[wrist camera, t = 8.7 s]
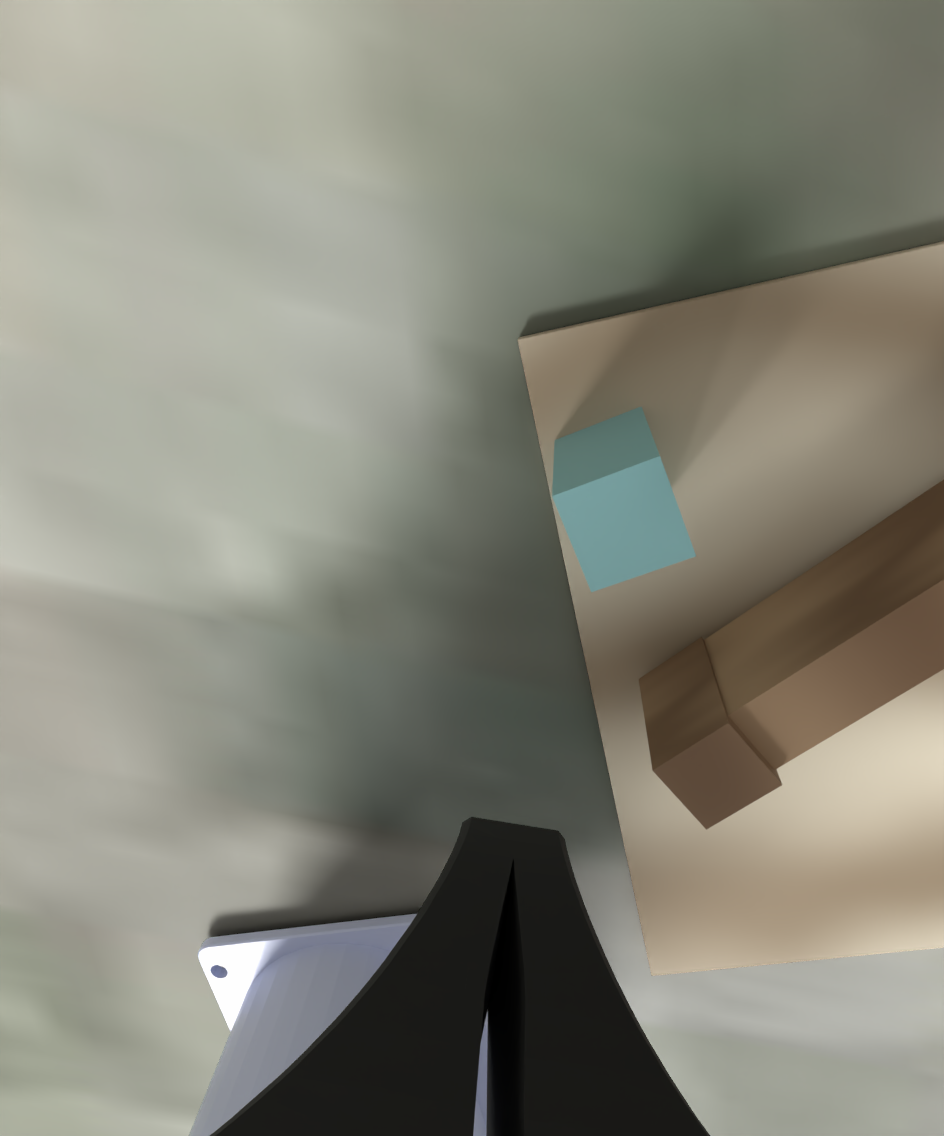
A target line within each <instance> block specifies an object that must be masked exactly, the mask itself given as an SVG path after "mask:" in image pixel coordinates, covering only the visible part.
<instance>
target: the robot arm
mask: <svg viewBox="0 0 944 1136" xmlns="http://www.w3.org/2000/svg"><path fill="white" fill-rule="evenodd" d="M198 958H199V961H200V963H201V966H202V968H203V970H204V973H205V975H206V977H207V979H208V982H209V984H210V986H211V988H212V991H213V993H214V995H215V997H216V1000H217V1002H218V1004H219V1006H220V1009H221V1011H222V1013H223V1016H224V1018H225V1020H226V1022H227V1025H228V1027H229V1029H230V1031H231V1032H230V1035H229V1037H228V1040H227V1042H226V1045H225V1047H224V1050H223V1052H222V1055H221V1057H220V1059H219V1062H218V1064H217V1067H216V1069H215V1072H214V1074H213V1077H212V1079H211V1082H210V1084H209V1087H208V1089H207V1092H206V1094H205V1097H204V1099H203V1102H202V1104H201V1107H200V1109H199V1111H198V1114H197V1116H196V1119H195V1121H194V1124H193V1126H192V1129H191V1131H190V1134H189V1136H710V1135H709V1133H708V1132H707V1131H706V1129H705V1128H704V1127H703V1125H702V1124H701V1123H700V1121H699V1120H698V1118H697V1117H696V1116H695V1114H694V1113H693V1111H692V1110H691V1108H690V1107H689V1105H688V1103H687V1102H686V1100H685V1099H684V1097H683V1096H682V1094H681V1093H680V1091H679V1090H678V1088H677V1087H676V1085H675V1083H674V1082H673V1080H672V1079H671V1077H670V1076H669V1074H668V1072H667V1071H666V1069H665V1067H664V1066H663V1064H662V1062H661V1061H660V1059H659V1057H658V1056H657V1054H656V1052H655V1051H654V1049H653V1047H652V1046H651V1044H650V1042H649V1041H648V1039H647V1037H646V1035H645V1033H644V1032H643V1030H642V1028H641V1026H640V1024H639V1023H638V1021H637V1019H636V1017H635V1015H634V1013H633V1011H632V1009H631V1007H630V1006H629V1004H628V1002H627V1000H626V998H625V996H624V994H623V992H622V990H621V988H620V986H619V984H618V982H617V980H616V978H615V975H614V973H613V971H612V969H611V967H610V965H609V963H608V960H607V958H606V956H605V954H604V951H603V949H602V947H601V944H600V942H599V940H598V937H597V935H596V933H595V930H594V928H593V925H592V923H591V921H590V918H589V916H588V913H587V910H586V908H585V905H584V903H583V900H582V897H581V894H580V891H579V888H578V886H577V883H576V880H575V877H574V873H573V870H572V867H571V863H570V860H569V856H568V852H567V848H566V844H565V839H564V838H563V836H562V835H561V834H560V833H559V831H556V830H550V829H543V828H537V827H531V826H525V825H518V824H512V823H506V822H499V821H493V820H487V819H481V818H474V817H471V818H469V819H468V820H466V821H464V822H463V823H462V827H461V830H460V834H459V836H458V839H457V842H456V844H455V847H454V849H453V851H452V853H451V855H450V857H449V859H448V862H447V863H446V865H445V867H444V869H443V871H442V873H441V875H440V877H439V879H438V880H437V882H436V884H435V885H434V887H433V889H432V890H431V892H430V894H429V895H428V897H427V899H426V900H425V902H424V903H423V905H422V907H421V908H420V910H419V912H418V913H417V914H409V915H401V916H392V917H383V918H374V919H365V920H357V921H348V922H339V923H330V924H322V925H313V926H304V927H295V928H287V929H278V930H269V931H260V932H252V933H243V934H234V935H225V936H217V937H211V938H207V939H206V940H205V941H204V942H203V943H202V945H201V947H200V949H199V952H198ZM218 965H221V966H223V967H225V968H223V967H220V966H218ZM487 1009H488V1012H487Z"/></svg>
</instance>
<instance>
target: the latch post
mask: <svg viewBox="0 0 944 1136" xmlns="http://www.w3.org/2000/svg"><path fill="white" fill-rule="evenodd" d="M552 498H553V500H554V502H555V505H556V507H557V510H558V512H559V515H560V517H561V520H562V522H563V524H564V527H565V529H566V532H567V534H568V537H569V539H570V541H571V544H572V546H573V549H574V551H575V554H576V556H577V559H578V561H579V563H580V566H581V568H582V571H583V573H584V576H585V578H586V581H587V583H588V585H589V588H590V590H591V592H594V591H597V590H600V589H603V588H605V587H608V586H611V585H614V584H617V583H620V582H623V581H626V580H629V579H632V578H635V577H637V576H640V575H643V574H646V573H649V572H652V571H655V570H658V569H661V568H664V567H666V566H669V565H672V564H675V563H678V562H681V561H684V560H687V559H690V558H693V557H696V554H695V551H694V549H693V546H692V543H691V540H690V538H689V535H688V532H687V529H686V527H685V524H684V521H683V518H682V515H681V513H680V510H679V507H678V504H677V502H676V499H675V496H674V493H673V491H672V488H671V485H670V482H669V480H668V477H667V474H666V471H665V468H664V466H663V463H662V460H661V457H660V455H659V452H658V449H657V447H656V444H655V441H654V439H653V436H652V433H651V431H650V428H649V425H648V423H647V420H646V417H645V415H644V412H643V409H642V406H641V407H638V408H636V409H633V410H631V411H628V412H625V413H623V414H620V415H618V416H615V417H613V418H610V419H608V420H605V421H602V422H600V423H597V424H595V425H592V426H590V427H587V428H584V429H582V430H579V431H577V432H574V433H572V434H569V435H566V436H564V437H561V438H559V439H556V440H555V442H554V464H553V486H552Z"/></svg>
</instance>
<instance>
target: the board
mask: <svg viewBox="0 0 944 1136" xmlns="http://www.w3.org/2000/svg"><path fill="white" fill-rule="evenodd" d="M518 344H519V349H520V354H521V358H522V363H523V368H524V373H525V377H526V382H527V387H528V392H529V396H530V401H531V406H532V411H533V415H534V420H535V425H536V430H537V434H538V439H539V444H540V448H541V453H542V458H543V463H544V467H545V472H546V477H547V482H548V486H549V491H550V496H551V501H552V505H553V510H554V515H555V520H556V524H557V529H558V534H559V539H560V543H561V548H562V553H563V558H564V562H565V567H566V572H567V577H568V581H569V586H570V591H571V596H572V600H573V605H574V610H575V615H576V619H577V624H578V629H579V634H580V638H581V643H582V648H583V653H584V657H585V662H586V667H587V672H588V676H589V681H590V686H591V691H592V695H593V700H594V705H595V710H596V714H597V719H598V724H599V729H600V733H601V738H602V743H603V748H604V752H605V757H606V762H607V767H608V771H609V776H610V781H611V786H612V790H613V795H614V800H615V804H616V809H617V814H618V819H619V823H620V828H621V833H622V838H623V842H624V847H625V852H626V857H627V861H628V866H629V871H630V876H631V880H632V885H633V890H634V895H635V899H636V904H637V909H638V914H639V918H640V923H641V928H642V933H643V937H644V942H645V947H646V952H647V956H648V961H649V966H650V971H651V975H652V976H656V975H666V974H676V973H687V972H697V971H707V970H718V969H728V968H738V967H749V966H759V965H769V964H780V963H790V962H800V961H810V960H821V959H831V958H841V957H852V956H862V955H872V954H883V953H893V952H903V951H914V950H924V949H934V948H944V669H943V670H942V671H940V672H938V673H937V674H935V675H933V676H932V677H930V678H928V679H927V680H925V681H923V682H922V683H920V684H918V685H916V686H915V687H913V688H911V689H910V690H908V691H906V692H905V693H903V694H901V695H900V696H898V697H896V698H895V699H893V700H891V701H890V702H888V703H886V704H885V705H883V706H881V707H880V708H878V709H876V710H875V711H873V712H871V713H870V714H868V715H866V716H864V717H863V718H861V719H859V720H858V721H856V722H854V723H853V724H851V725H849V726H848V727H846V728H844V729H843V730H841V731H839V732H838V733H836V734H834V735H833V736H831V737H829V738H828V739H826V740H824V741H823V742H821V743H819V744H818V745H816V746H814V747H812V748H811V749H809V750H807V751H806V752H804V753H802V754H801V755H799V756H797V757H796V758H794V759H792V760H791V761H789V762H787V763H786V764H784V765H782V766H781V767H779V768H777V772H778V775H779V777H780V780H781V783H782V786H780V787H778V788H777V789H775V790H773V791H771V792H770V793H768V794H766V795H765V796H763V797H761V798H760V799H758V800H756V801H754V802H753V803H751V804H749V805H748V806H746V807H744V808H743V809H741V810H739V811H737V812H736V813H734V814H732V815H731V816H729V817H727V818H726V819H724V820H722V821H720V822H719V823H717V824H715V825H714V826H712V827H710V828H709V829H707V830H706V829H705V828H704V827H703V825H702V824H701V823H700V822H699V821H698V820H697V819H696V818H695V817H694V816H693V815H692V813H691V812H690V811H689V810H688V809H687V808H686V807H685V806H684V805H683V804H682V802H681V801H680V800H679V799H678V798H677V797H676V796H675V795H674V794H673V793H672V791H671V790H670V789H669V788H668V787H667V786H666V785H665V784H664V783H663V782H662V780H661V779H660V778H659V777H658V776H657V775H656V774H655V773H654V772H653V771H652V764H651V758H650V751H649V745H648V738H647V732H646V725H645V719H644V712H643V705H642V699H641V692H640V686H639V679H640V678H641V677H643V676H644V675H646V674H647V673H648V672H650V671H651V670H653V669H654V668H656V667H657V666H659V665H660V664H662V663H663V662H665V661H666V660H668V659H669V658H671V657H672V656H674V655H675V654H677V653H678V652H680V651H681V650H683V649H684V648H686V647H687V646H689V645H690V644H692V643H693V642H695V641H696V640H698V639H699V638H701V637H702V638H703V639H704V640H705V639H706V638H708V637H709V636H711V635H712V634H714V633H715V632H717V631H718V630H720V629H721V628H723V627H724V626H726V625H727V624H729V623H730V622H732V621H733V620H735V619H736V618H738V617H739V616H741V615H742V614H744V613H745V612H747V611H748V610H750V609H751V608H753V607H754V606H756V605H757V604H759V603H760V602H761V601H763V600H764V599H766V598H767V597H769V596H770V595H772V594H773V593H775V592H776V591H778V590H779V589H781V588H782V587H784V586H785V585H787V584H788V583H790V582H791V581H793V580H794V579H796V578H797V577H799V576H800V575H802V574H803V573H805V572H806V571H808V570H809V569H811V568H812V567H814V566H815V565H817V564H818V563H820V562H821V561H823V560H824V559H826V558H827V557H829V556H830V555H832V554H833V553H835V552H836V551H838V550H839V549H841V548H842V547H844V546H845V545H847V544H848V543H850V542H851V541H853V540H854V539H856V538H857V537H859V536H860V535H862V534H863V533H865V532H866V531H868V530H869V529H871V528H872V527H874V526H875V525H876V524H878V523H879V522H881V521H882V520H884V519H885V518H887V517H888V516H890V515H891V514H893V513H894V512H896V511H897V510H899V509H900V508H902V507H903V506H905V505H906V504H908V503H909V502H911V501H912V500H914V499H915V498H917V497H918V496H920V495H921V494H923V493H924V492H926V491H927V490H929V489H930V488H932V487H933V486H935V485H936V484H938V483H939V482H941V481H942V480H944V241H942V242H938V243H934V244H929V245H925V246H920V247H916V248H911V249H907V250H903V251H898V252H894V253H889V254H885V255H881V256H876V257H872V258H867V259H863V260H858V261H854V262H850V263H845V264H841V265H836V266H832V267H828V268H823V269H819V270H814V271H810V272H805V273H801V274H797V275H792V276H788V277H783V278H779V279H775V280H770V281H766V282H761V283H757V284H752V285H748V286H744V287H739V288H735V289H730V290H726V291H722V292H717V293H713V294H708V295H704V296H699V297H695V298H691V299H686V300H682V301H677V302H673V303H669V304H664V305H660V306H655V307H651V308H646V309H642V310H638V311H633V312H629V313H624V314H620V315H616V316H611V317H607V318H602V319H598V320H593V321H589V322H585V323H580V324H576V325H571V326H567V327H562V328H558V329H554V330H549V331H545V332H540V333H536V334H532V335H527V336H523V337H519V338H518ZM641 406H642V409H643V412H644V415H645V417H646V420H647V423H648V425H649V428H650V431H651V433H652V436H653V439H654V441H655V444H656V447H657V449H658V452H659V455H660V457H661V460H662V463H663V466H664V468H665V471H666V474H667V477H668V480H669V482H670V485H671V488H672V491H673V493H674V496H675V499H676V502H677V504H678V507H679V510H680V513H681V515H682V518H683V521H684V524H685V527H686V529H687V532H688V535H689V538H690V540H691V543H692V546H693V549H694V551H695V554H696V557H693V558H690V559H687V560H684V561H681V562H678V563H675V564H672V565H669V566H666V567H664V568H661V569H658V570H655V571H652V572H649V573H646V574H643V575H640V576H637V577H635V578H632V579H629V580H626V581H623V582H620V583H617V584H614V585H611V586H608V587H605V588H603V589H600V590H597V591H594V592H591V590H590V588H589V585H588V583H587V581H586V578H585V576H584V573H583V571H582V568H581V566H580V563H579V561H578V559H577V556H576V554H575V551H574V549H573V546H572V544H571V541H570V539H569V537H568V534H567V532H566V529H565V527H564V524H563V522H562V520H561V517H560V515H559V512H558V510H557V507H556V505H555V502H554V500H553V498H552V486H553V464H554V442H555V440H556V439H559V438H561V437H564V436H566V435H569V434H572V433H574V432H577V431H579V430H582V429H584V428H587V427H590V426H592V425H595V424H597V423H600V422H602V421H605V420H608V419H610V418H613V417H615V416H618V415H620V414H623V413H625V412H628V411H631V410H633V409H636V408H638V407H641Z"/></svg>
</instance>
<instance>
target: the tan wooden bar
mask: <svg viewBox="0 0 944 1136" xmlns="http://www.w3.org/2000/svg"><path fill="white" fill-rule="evenodd" d="M943 669H944V480H942V481H941V482H939V483H938V484H936V485H935V486H933V487H932V488H930V489H929V490H927V491H926V492H924V493H923V494H921V495H920V496H918V497H917V498H915V499H914V500H912V501H911V502H909V503H908V504H906V505H905V506H903V507H902V508H900V509H899V510H897V511H896V512H894V513H893V514H891V515H890V516H888V517H887V518H885V519H884V520H882V521H881V522H879V523H878V524H876V525H875V526H874V527H872V528H871V529H869V530H868V531H866V532H865V533H863V534H862V535H860V536H859V537H857V538H856V539H854V540H853V541H851V542H850V543H848V544H847V545H845V546H844V547H842V548H841V549H839V550H838V551H836V552H835V553H833V554H832V555H830V556H829V557H827V558H826V559H824V560H823V561H821V562H820V563H818V564H817V565H815V566H814V567H812V568H811V569H809V570H808V571H806V572H805V573H803V574H802V575H800V576H799V577H797V578H796V579H794V580H793V581H791V582H790V583H788V584H787V585H785V586H784V587H782V588H781V589H779V590H778V591H776V592H775V593H773V594H772V595H770V596H769V597H767V598H766V599H764V600H763V601H761V602H760V603H759V604H757V605H756V606H754V607H753V608H751V609H750V610H748V611H747V612H745V613H744V614H742V615H741V616H739V617H738V618H736V619H735V620H733V621H732V622H730V623H729V624H727V625H726V626H724V627H723V628H721V629H720V630H718V631H717V632H715V633H714V634H712V635H711V636H709V637H708V638H706V639H705V640H704V639H703V638H702V637H701V638H699V639H698V640H696V641H695V642H693V643H692V644H690V645H689V646H687V647H686V648H684V649H683V650H681V651H680V652H678V653H677V654H675V655H674V656H672V657H671V658H669V659H668V660H666V661H665V662H663V663H662V664H660V665H659V666H657V667H656V668H654V669H653V670H651V671H650V672H648V673H647V674H646V675H644V676H643V677H641V678H640V679H639V686H640V692H641V699H642V705H643V712H644V719H645V725H646V732H647V738H648V745H649V751H650V758H651V764H652V771H653V772H654V773H655V774H656V775H657V776H658V777H659V778H660V779H661V780H662V782H663V783H664V784H665V785H666V786H667V787H668V788H669V789H670V790H671V791H672V793H673V794H674V795H675V796H676V797H677V798H678V799H679V800H680V801H681V802H682V804H683V805H684V806H685V807H686V808H687V809H688V810H689V811H690V812H691V813H692V815H693V816H694V817H695V818H696V819H697V820H698V821H699V822H700V823H701V824H702V825H703V827H704V828H705V829H706V830H707V829H709V828H710V827H712V826H714V825H715V824H717V823H719V822H720V821H722V820H724V819H726V818H727V817H729V816H731V815H732V814H734V813H736V812H737V811H739V810H741V809H743V808H744V807H746V806H748V805H749V804H751V803H753V802H754V801H756V800H758V799H760V798H761V797H763V796H765V795H766V794H768V793H770V792H771V791H773V790H775V789H777V788H778V787H780V786H782V783H781V780H780V777H779V775H778V772H777V768H779V767H781V766H782V765H784V764H786V763H787V762H789V761H791V760H792V759H794V758H796V757H797V756H799V755H801V754H802V753H804V752H806V751H807V750H809V749H811V748H812V747H814V746H816V745H818V744H819V743H821V742H823V741H824V740H826V739H828V738H829V737H831V736H833V735H834V734H836V733H838V732H839V731H841V730H843V729H844V728H846V727H848V726H849V725H851V724H853V723H854V722H856V721H858V720H859V719H861V718H863V717H864V716H866V715H868V714H870V713H871V712H873V711H875V710H876V709H878V708H880V707H881V706H883V705H885V704H886V703H888V702H890V701H891V700H893V699H895V698H896V697H898V696H900V695H901V694H903V693H905V692H906V691H908V690H910V689H911V688H913V687H915V686H916V685H918V684H920V683H922V682H923V681H925V680H927V679H928V678H930V677H932V676H933V675H935V674H937V673H938V672H940V671H942V670H943Z"/></svg>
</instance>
